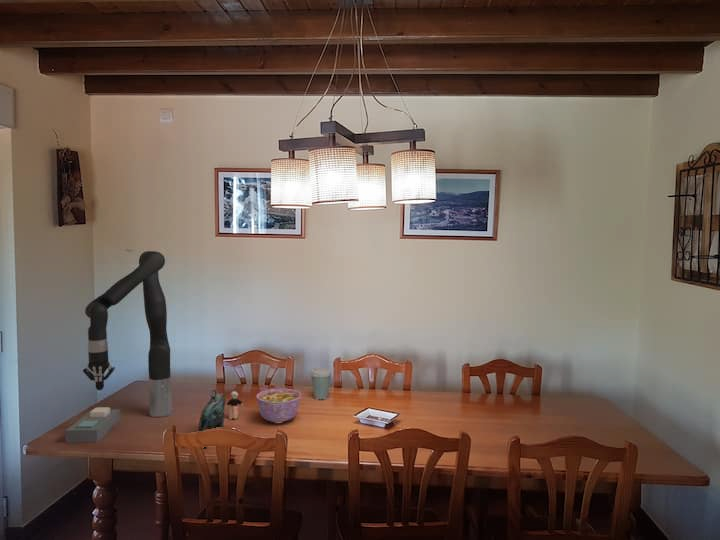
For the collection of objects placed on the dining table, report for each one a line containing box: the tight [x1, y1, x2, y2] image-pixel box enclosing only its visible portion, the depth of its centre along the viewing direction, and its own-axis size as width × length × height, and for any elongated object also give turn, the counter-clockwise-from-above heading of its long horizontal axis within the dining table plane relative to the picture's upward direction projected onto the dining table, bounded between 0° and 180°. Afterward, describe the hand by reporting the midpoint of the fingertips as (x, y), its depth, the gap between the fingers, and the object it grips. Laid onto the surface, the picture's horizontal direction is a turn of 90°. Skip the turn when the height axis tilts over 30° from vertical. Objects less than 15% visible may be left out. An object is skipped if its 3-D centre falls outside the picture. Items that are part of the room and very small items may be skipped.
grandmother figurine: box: [225, 391, 244, 420], centre depth 236 cm, size 8×4×13 cm, turn 118°
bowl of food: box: [255, 388, 302, 423], centre depth 235 cm, size 20×20×12 cm
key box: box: [65, 408, 121, 444], centre depth 219 cm, size 12×24×5 cm, turn 4°
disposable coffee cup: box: [310, 367, 332, 399], centre depth 267 cm, size 11×11×15 cm
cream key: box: [89, 406, 111, 417], centre depth 224 cm, size 6×6×3 cm
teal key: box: [77, 421, 99, 428], centre depth 213 cm, size 6×6×3 cm
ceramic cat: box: [198, 389, 226, 432], centre depth 212 cm, size 20×6×20 cm, turn 174°
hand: (99, 389), depth 222 cm, fingers closed
